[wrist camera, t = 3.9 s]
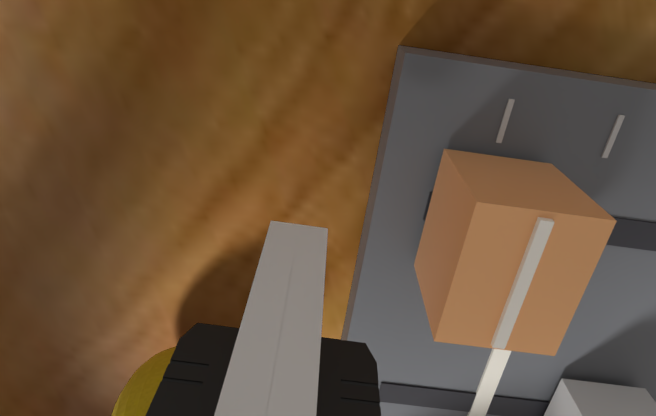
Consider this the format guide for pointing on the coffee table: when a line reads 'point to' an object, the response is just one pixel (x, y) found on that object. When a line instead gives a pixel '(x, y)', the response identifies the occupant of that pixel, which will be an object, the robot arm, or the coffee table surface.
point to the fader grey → (599, 400)
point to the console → (520, 143)
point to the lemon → (143, 386)
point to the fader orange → (506, 252)
